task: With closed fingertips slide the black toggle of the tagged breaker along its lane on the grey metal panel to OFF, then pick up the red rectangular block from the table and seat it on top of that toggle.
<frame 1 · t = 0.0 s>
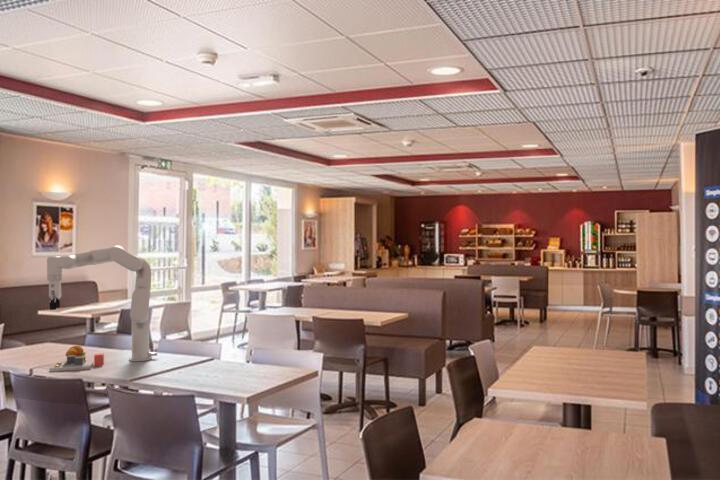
hand: (54, 308, 342), 31 cm above the table, fingers open, 9 cm apart
breaker 1: (71, 359, 334), point 4 cm above the table, slide at 4.8 cm
panel: (72, 368, 332), on the table
cheeseburger: (76, 361, 350), on the table
breaker 2: (79, 361, 330), point 4 cm above the table, slide at 0.0 cm
red rectangular block: (99, 365, 340), on the table
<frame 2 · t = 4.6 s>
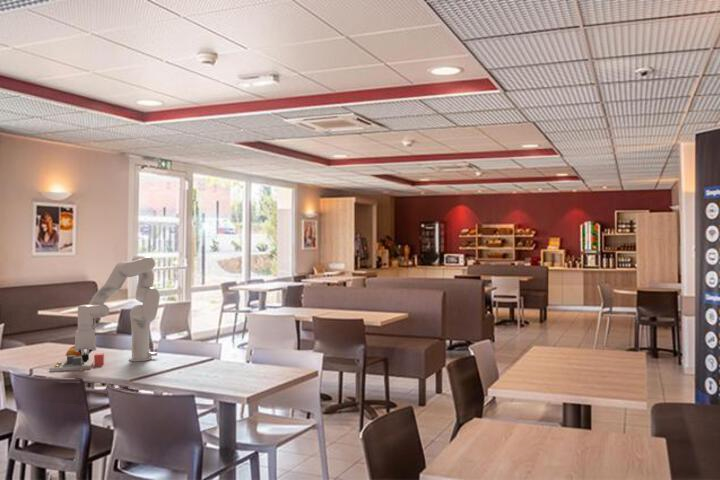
hand: (85, 361, 331), 4 cm above the table, fingers closed
breaker 2: (77, 361, 330), point 4 cm above the table, slide at 0.9 cm, touching gripper
everything else where it was.
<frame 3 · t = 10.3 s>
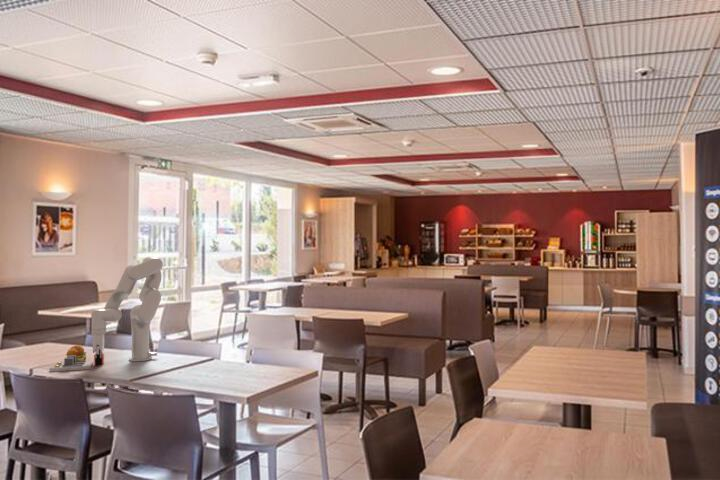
hand: (99, 363, 340), 1 cm above the table, fingers closed on red rectangular block, 4 cm apart
breaker 2: (69, 361, 329), point 4 cm above the table, slide at 5.0 cm
red rectangular block: (99, 365, 340), on the table, touching gripper
everything else where it was.
when the fingers open (8 cm above the table, at t = 14.8 s): red rectangular block stays where it is, resting on breaker 2.
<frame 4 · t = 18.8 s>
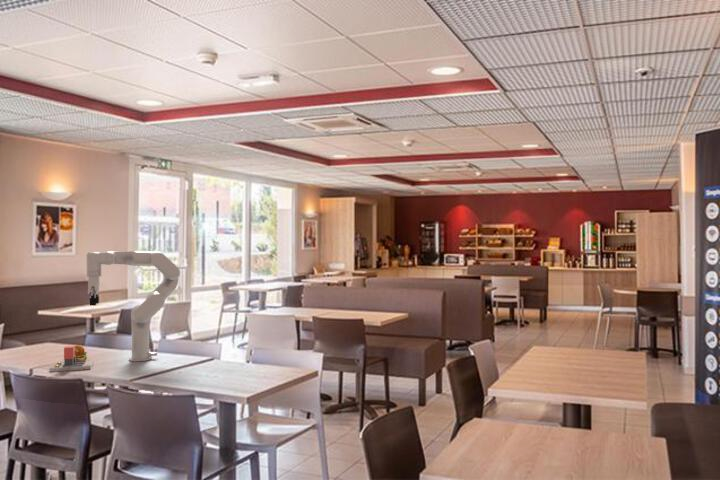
hand: (94, 304, 344), 33 cm above the table, fingers open, 9 cm apart
breaker 2: (69, 361, 329), point 4 cm above the table, slide at 5.0 cm, touching red rectangular block
red rectangular block: (69, 358, 329), point 6 cm above the table, touching breaker 2
at the end: breaker 2 slide at 5.0 cm; red rectangular block 0.2 cm from the target spot, point 6.2 cm above the table; red rectangular block tilted 0° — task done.
